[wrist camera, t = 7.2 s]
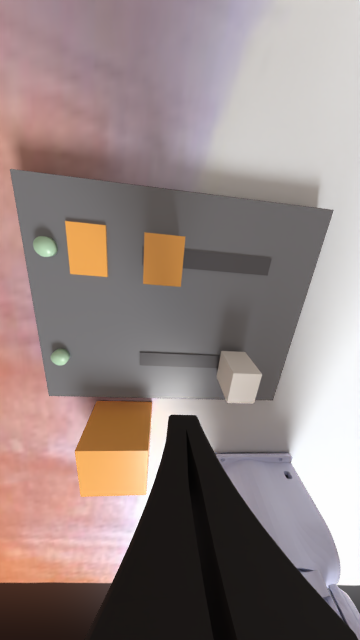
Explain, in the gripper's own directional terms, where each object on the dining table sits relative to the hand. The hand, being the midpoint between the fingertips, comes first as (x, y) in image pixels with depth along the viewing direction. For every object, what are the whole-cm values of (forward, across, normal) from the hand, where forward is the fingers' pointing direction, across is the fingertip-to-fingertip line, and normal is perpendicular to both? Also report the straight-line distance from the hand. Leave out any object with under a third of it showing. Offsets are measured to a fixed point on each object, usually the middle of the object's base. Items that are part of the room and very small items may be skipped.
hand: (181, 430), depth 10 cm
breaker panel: (+8, 0, -4) cm, 9 cm away
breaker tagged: (+6, +2, -8) cm, 10 cm away
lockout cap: (+8, +4, +9) cm, 13 cm away
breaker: (+6, -5, 0) cm, 8 cm away
